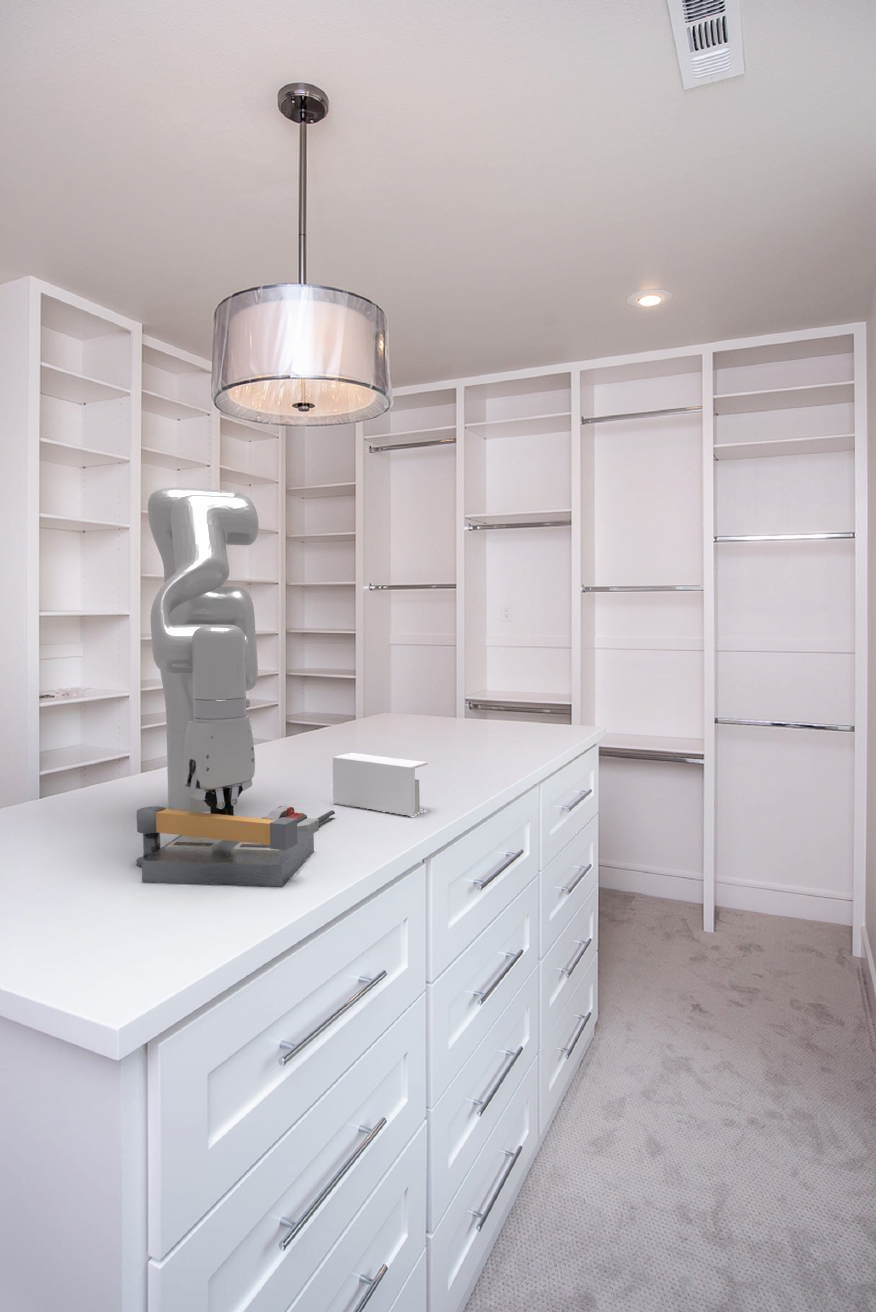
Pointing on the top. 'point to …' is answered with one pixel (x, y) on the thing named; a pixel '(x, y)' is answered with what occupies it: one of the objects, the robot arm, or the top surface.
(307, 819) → the walkie-talkie
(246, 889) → the top surface
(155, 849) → the pivot post
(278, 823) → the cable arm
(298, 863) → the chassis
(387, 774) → the cigarette display
